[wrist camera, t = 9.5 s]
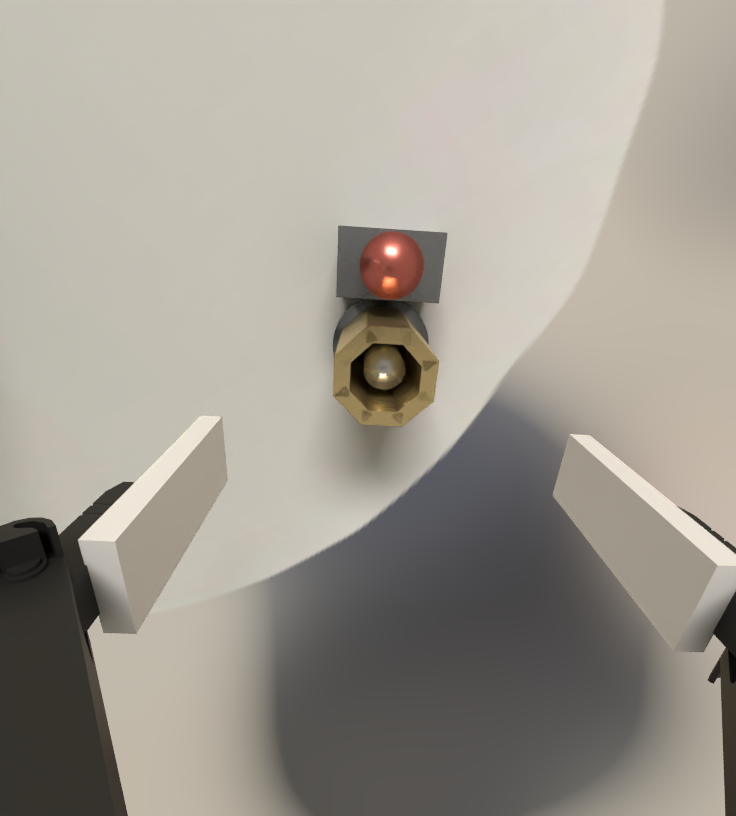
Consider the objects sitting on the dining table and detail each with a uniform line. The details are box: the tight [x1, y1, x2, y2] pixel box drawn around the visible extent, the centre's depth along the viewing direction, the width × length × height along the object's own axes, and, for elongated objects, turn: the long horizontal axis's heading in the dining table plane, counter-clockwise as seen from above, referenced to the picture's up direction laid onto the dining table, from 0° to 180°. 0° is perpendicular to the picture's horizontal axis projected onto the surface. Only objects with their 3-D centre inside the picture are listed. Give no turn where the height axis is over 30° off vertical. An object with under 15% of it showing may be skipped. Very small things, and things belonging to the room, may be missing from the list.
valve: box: [333, 226, 447, 389], centre depth 29 cm, size 8×13×8 cm, turn 177°
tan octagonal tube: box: [333, 306, 439, 427], centre depth 28 cm, size 6×6×9 cm
